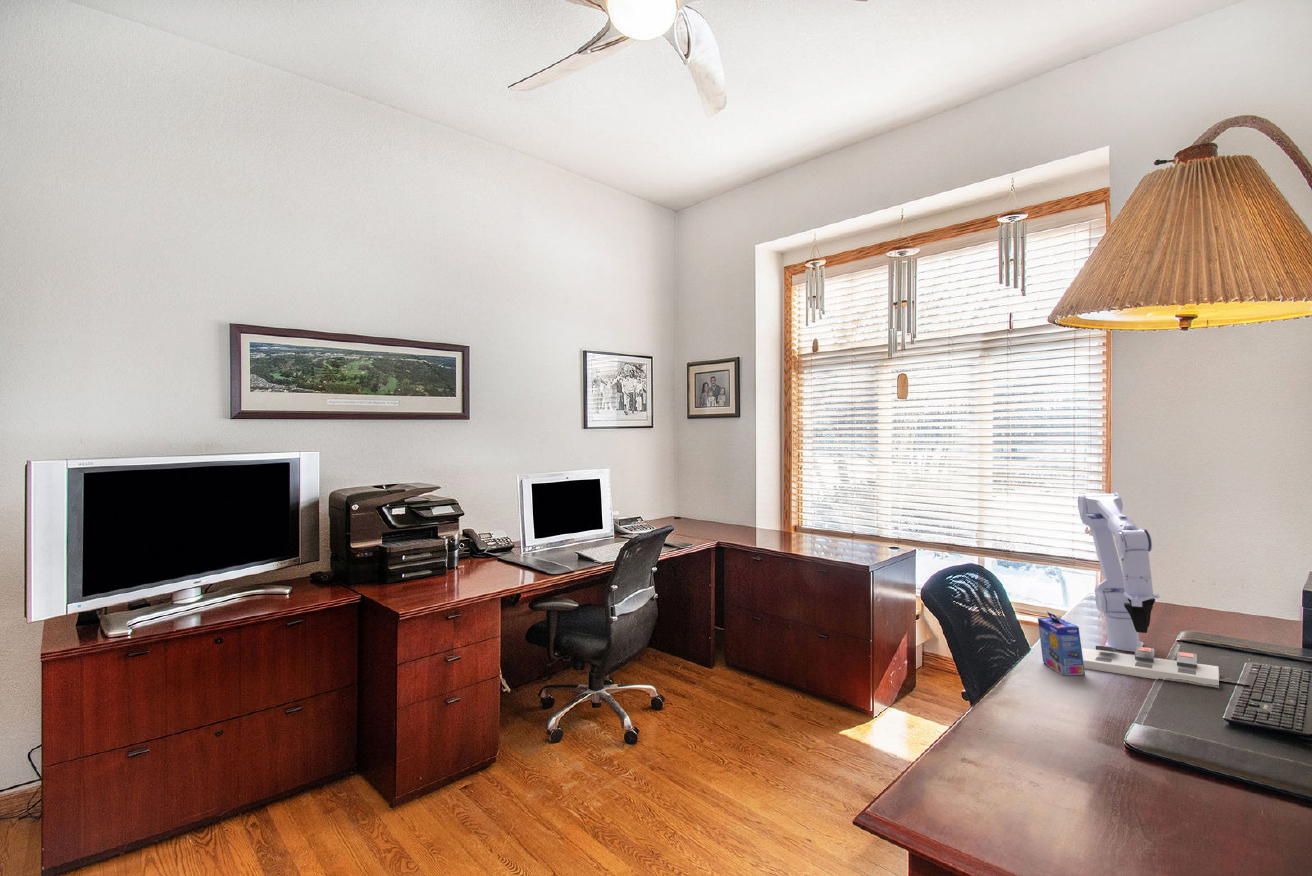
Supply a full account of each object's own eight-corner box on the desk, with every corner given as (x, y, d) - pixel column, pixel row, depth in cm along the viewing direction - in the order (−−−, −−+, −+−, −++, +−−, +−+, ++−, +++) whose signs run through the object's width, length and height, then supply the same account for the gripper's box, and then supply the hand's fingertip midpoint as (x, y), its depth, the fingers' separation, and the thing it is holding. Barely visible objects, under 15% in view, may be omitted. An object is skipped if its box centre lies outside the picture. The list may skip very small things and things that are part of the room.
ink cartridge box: (1040, 663, 157) (1035, 608, 157) (1062, 662, 156) (1057, 608, 157) (1062, 676, 147) (1056, 618, 148) (1086, 675, 146) (1080, 617, 147)
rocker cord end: (1177, 655, 146) (1176, 651, 146) (1196, 657, 144) (1196, 653, 144) (1177, 665, 143) (1176, 661, 143) (1197, 668, 140) (1196, 664, 140)
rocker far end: (1099, 649, 157) (1098, 645, 158) (1115, 651, 155) (1115, 647, 155) (1095, 649, 154) (1095, 645, 154) (1113, 651, 151) (1112, 647, 152)
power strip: (1083, 655, 160) (1082, 647, 160) (1248, 678, 138) (1247, 669, 138) (1076, 667, 152) (1075, 658, 152) (1250, 693, 130) (1249, 684, 130)
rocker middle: (1136, 649, 152) (1136, 645, 152) (1154, 652, 149) (1154, 648, 149) (1135, 659, 148) (1134, 656, 148) (1153, 662, 146) (1153, 658, 146)
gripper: (1155, 582, 143) (1161, 638, 142) (1159, 572, 154) (1164, 624, 153) (1118, 580, 148) (1124, 634, 147) (1125, 570, 158) (1130, 621, 158)
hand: (1142, 629), depth 150 cm, fingers open, 6 cm apart
